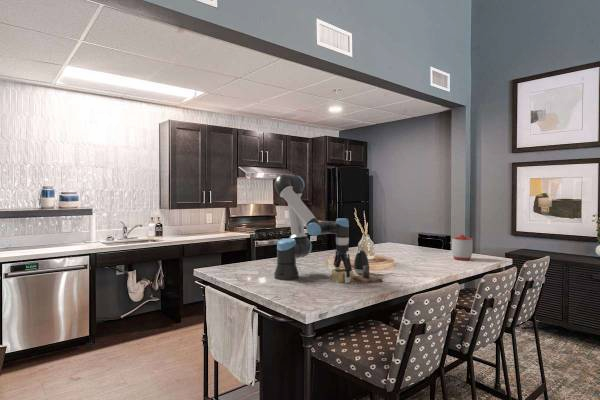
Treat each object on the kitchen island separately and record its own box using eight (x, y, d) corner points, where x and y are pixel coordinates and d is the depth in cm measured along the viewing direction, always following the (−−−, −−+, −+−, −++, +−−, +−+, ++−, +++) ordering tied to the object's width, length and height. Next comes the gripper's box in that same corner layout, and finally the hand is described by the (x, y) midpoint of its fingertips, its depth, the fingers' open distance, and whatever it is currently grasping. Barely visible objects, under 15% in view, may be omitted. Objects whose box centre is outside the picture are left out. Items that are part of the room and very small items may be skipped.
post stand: (361, 283, 210) (361, 269, 210) (350, 278, 223) (350, 264, 223) (382, 281, 215) (382, 267, 215) (370, 276, 228) (370, 263, 228)
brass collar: (338, 282, 212) (338, 272, 212) (331, 279, 221) (331, 269, 221) (353, 281, 215) (353, 271, 215) (345, 278, 224) (345, 268, 224)
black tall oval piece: (351, 274, 235) (351, 250, 235) (356, 271, 244) (356, 248, 244) (366, 276, 230) (366, 251, 230) (371, 272, 239) (371, 249, 239)
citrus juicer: (455, 256, 302) (455, 232, 302) (476, 259, 288) (476, 234, 288) (445, 258, 292) (445, 233, 292) (467, 261, 279) (467, 235, 278)
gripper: (357, 246, 207) (357, 284, 208) (339, 241, 231) (339, 275, 231) (345, 247, 205) (345, 285, 205) (328, 242, 228) (328, 276, 228)
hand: (342, 280), depth 218 cm, fingers open, 12 cm apart
